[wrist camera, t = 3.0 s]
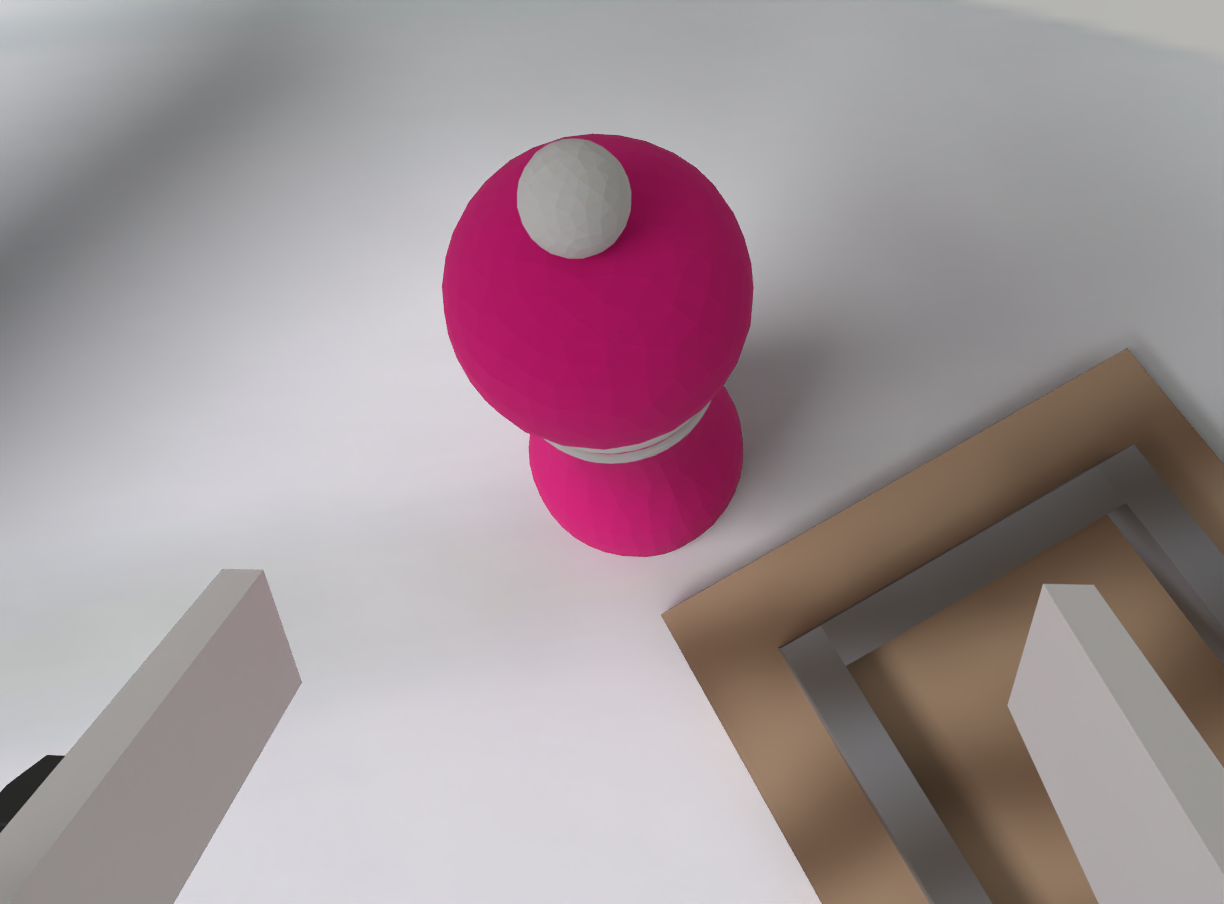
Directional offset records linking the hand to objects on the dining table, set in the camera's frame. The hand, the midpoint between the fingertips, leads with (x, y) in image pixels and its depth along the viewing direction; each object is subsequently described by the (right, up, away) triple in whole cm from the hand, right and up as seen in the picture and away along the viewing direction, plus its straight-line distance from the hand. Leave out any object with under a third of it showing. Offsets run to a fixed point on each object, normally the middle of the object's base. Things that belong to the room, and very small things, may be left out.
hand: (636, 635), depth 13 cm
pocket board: (+15, -6, +13) cm, 21 cm away
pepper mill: (+1, +2, +17) cm, 17 cm away
